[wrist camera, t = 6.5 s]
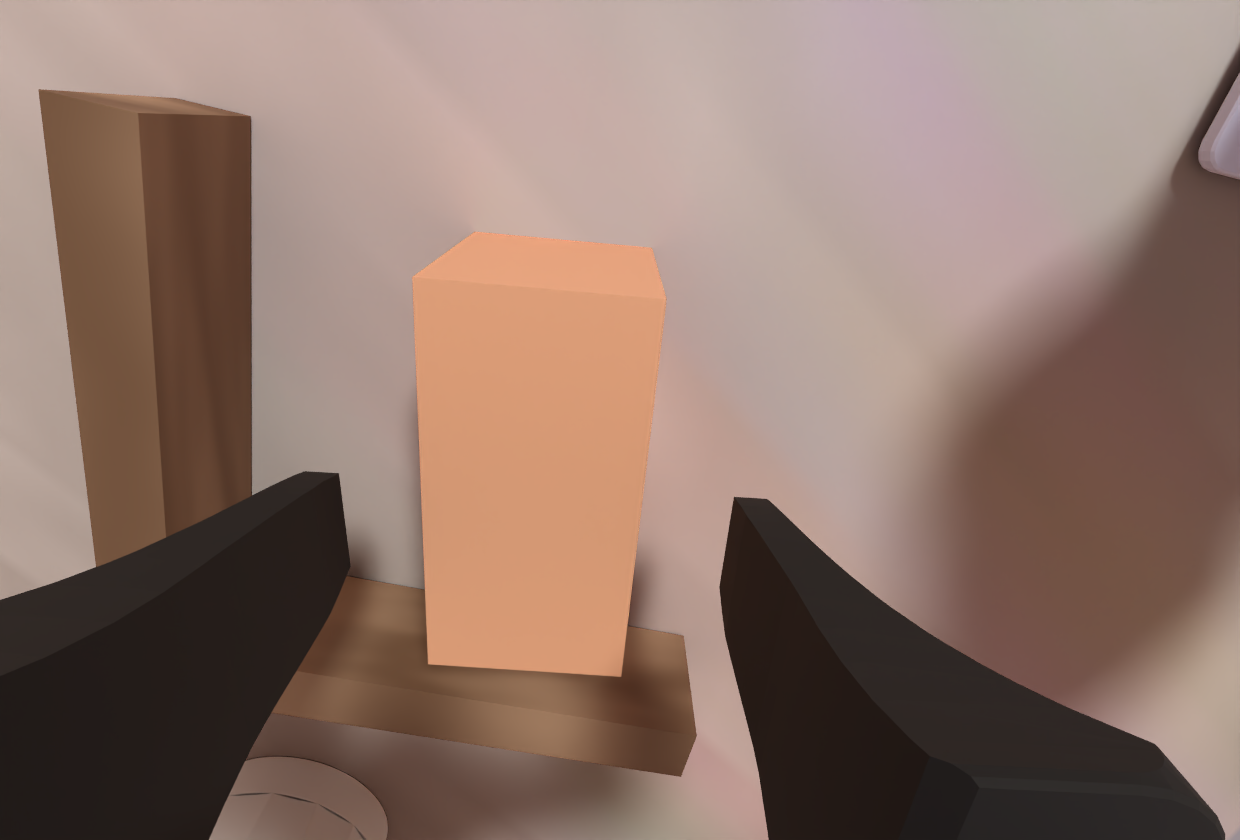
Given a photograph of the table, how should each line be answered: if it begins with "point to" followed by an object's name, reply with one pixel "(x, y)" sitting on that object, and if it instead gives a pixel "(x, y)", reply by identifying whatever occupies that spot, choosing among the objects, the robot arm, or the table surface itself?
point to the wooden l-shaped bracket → (221, 438)
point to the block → (534, 447)
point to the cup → (298, 804)
